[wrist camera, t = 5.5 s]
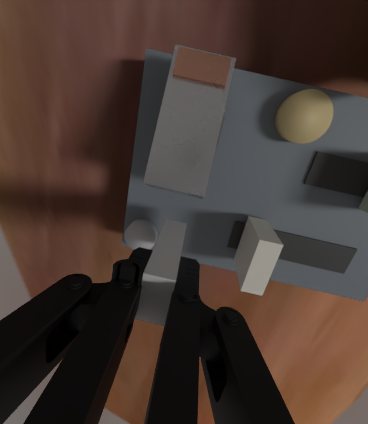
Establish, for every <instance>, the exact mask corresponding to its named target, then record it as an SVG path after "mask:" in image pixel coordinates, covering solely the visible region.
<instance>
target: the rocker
mask: <svg viewBox="0 0 368 424" xmlns="http://www.w3.org/2000/svg"><path fill="white" fill-rule="evenodd" d="M235 62H236V58H234V57H229V56H225V55H220V54H216V53H211V52H207V51H202V50H198V49H193V48H189V47H184V46H180V45H175V49H174V54H173V58H172V62H171V66H170V70H169V75H168V79H167V83H166V87H165V92H164V96H163V100H162V104H161V109H160V113H159V117H158V121H157V126H156V130H155V134H154V138H153V143H152V147H151V151H150V155H149V160H148V164H147V168H146V172H145V177H144V181H143V183H144V184H145V185H147V186H148V187H152V188H156V189H161V190H165V191H169V192H174V193H178V194H182V195H187V196H191V197H195V198H200V199H203V198H204V197H205V193H206V188H207V184H208V180H209V175H210V171H211V167H212V162H213V158H214V153H215V149H216V145H217V140H218V136H219V132H220V127H221V123H222V119H223V114H224V110H225V106H226V101H227V97H228V92H229V88H230V84H231V79H232V75H233V71H234V66H235Z"/></svg>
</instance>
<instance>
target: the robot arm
mask: <svg viewBox="0 0 368 424" xmlns="http://www.w3.org/2000/svg"><path fill="white" fill-rule="evenodd" d="M186 226H187V223H182V222H178V221H174V220H169V219H166V221H165V223H164V226H163V228H162V231H161V233H160V235H159V238H158V240H157V242H156V245H155V247H154V249H153V250H150V249H146V248H141V247H138V248H137V249H135V250H133V252H132V254H131V255H130V257H129V259H125V260H120V261H117V262H116V263H115V264H114V265H113V273H112V280H111V281H110V282H107V283H92V280H91V278H90V277H88V276H87V275H84V274H71V275H68V276H66V277H64V278H62V279H61V280H59V281H58V282H56V283H55V284H53V285H52V286H50V287H49V288H47V289H46V290H44V291H43V292H41V293H40V294H39V295H37V296H36V297H34V298H33V299H31V300H30V301H28V302H27V303H25V304H24V305H22V306H21V307H19V308H18V309H17V310H15V311H14V312H12V313H11V314H9V315H8V316H6V317H5V318H3V319H2V320H0V424H3V423H4V422H5V420H6V419H7V418H8V417H9V416H10V415H11V414H12V413H13V412H14V411H15V410H16V409H17V407H18V406H19V405H20V404H21V403H22V402H23V401H24V400H25V399H26V398H27V397H28V396H29V395H30V393H31V392H32V391H33V390H34V389H35V388H36V387H37V386H38V385H39V384H40V383H41V382H42V380H43V379H44V378H45V377H46V376H47V375H48V374H49V373H50V372H51V371H52V370H53V368H54V367H55V366H56V365H57V364H58V363H59V362H60V361H61V360H62V359H63V360H62V361H61V363H60V365H59V366H58V368H57V370H56V372H55V373H54V375H53V376H52V378H51V379H50V381H49V383H48V384H47V386H46V388H45V389H44V391H43V393H42V394H41V396H40V397H39V399H38V401H37V402H36V404H35V406H34V407H33V409H32V411H31V412H30V414H29V415H28V417H27V419H26V420H25V422H24V424H98V423H99V420H100V417H101V414H102V412H103V409H104V406H105V403H106V401H107V398H108V395H109V392H110V389H111V387H112V384H113V381H114V378H115V375H116V373H117V370H118V367H119V364H120V362H121V359H122V356H123V353H124V350H125V348H126V345H127V342H128V339H129V336H130V334H131V331H132V328H133V322H134V318H135V316H136V318H135V319H137V320H142V321H146V322H150V323H154V324H159V325H163V326H165V327H164V331H163V335H162V339H161V343H160V349H159V354H158V359H157V364H156V369H155V374H154V378H153V383H152V388H151V393H150V398H149V402H148V407H147V412H146V417H145V422H144V424H197V418H198V381H199V356H200V357H201V362H202V367H203V371H204V376H205V380H206V385H207V389H208V394H209V398H210V403H211V407H212V412H213V416H214V421H215V424H295V423H294V421H293V419H292V417H291V415H290V413H289V411H288V409H287V407H286V405H285V402H284V400H283V398H282V396H281V394H280V392H279V390H278V388H277V386H276V384H275V382H274V379H273V377H272V375H271V373H270V371H269V369H268V367H267V365H266V363H265V361H264V359H263V357H262V354H261V352H260V350H259V348H258V346H257V344H256V342H255V340H254V338H253V336H252V334H251V331H250V329H249V327H248V325H247V323H246V321H245V319H244V318H243V316H242V315H241V314H240V313H239V312H238V311H237V310H235V309H233V308H230V307H220V308H219V309H217V311H215V310H213V309H211V308H210V307H208V306H206V305H205V304H204V303H203V302H202V301H201V299H200V296H199V269H200V265H199V263H198V261H197V260H196V259H191V258H187V257H183V256H181V252H182V247H183V242H184V236H185V231H186Z"/></svg>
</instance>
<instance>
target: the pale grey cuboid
mask: <svg viewBox="0 0 368 424" xmlns="http://www.w3.org/2000/svg"><path fill="white" fill-rule="evenodd" d="M282 248H283V244H282V242H281V240H280V239H279V237H278V236H277V234H276V233H275V231H274V230H273V228H272V227H271V225H270V224H269V222H268V221H267V220H264V219H259V218H255V217H251V216H248V219H247V222H246V225H245V228H244V231H243V234H242V237H241V239H240V242H239V245H238V248H237V251H236V254H235V257H234V262H235V267H236V271H237V276H238V281H239V286H240V290H241V291H244V292H248V293H252V294H257V295H261V296H262V295H263V293H264V290H265V288H266V286H267V283H268V281H269V279H270V276H271V274H272V271H273V269H274V267H275V264H276V262H277V260H278V257H279V255H280V253H281V250H282Z"/></svg>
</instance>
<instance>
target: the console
mask: <svg viewBox="0 0 368 424" xmlns="http://www.w3.org/2000/svg"><path fill="white" fill-rule="evenodd" d="M172 58H173V54H168V53H164V52H160V51H155V50H151V49H146V55H145V63H144V71H143V79H142V87H141V95H140V103H139V111H138V118H137V126H136V134H135V142H134V150H133V158H132V166H131V174H130V182H129V190H128V198H127V206H126V214H125V222H124V230H123V238H122V245H123V246H127V247H130V248H131V249H133V250H135V249H137V248H138V247H141V248H146V249H150V250H153V249H154V247H155V245H156V242H157V240H158V238H159V235H160V233H161V231H162V228H163V226H164V223H165V221H166V219H169V220H174V221H178V222H182V223H187V226H186V231H185V236H184V242H183V247H182V252H181V256H183V257H187V258H191V259H196V260H197V261H198V263H200V264H205V265H209V266H213V267H218V268H222V269H226V270H230V271H235V272H237V271H236V267H235V262H234V257H235V254H236V251H237V248H238V245H239V242H240V239H241V237H242V234H243V231H244V228H245V225H246V222H247V219H248V216H251V217H255V218H259V219H264V220H267V221H268V222H269V224H270V225H271V227H272V228H273V230H274V231H275V233H276V234H277V236H278V237H279V239H280V240H281V242H282V244H283V248H282V250H281V253H280V255H279V257H278V260H277V262H276V264H275V267H274V269H273V271H272V274H271V276H270V279H269V280H273V281H278V282H282V283H286V284H291V285H295V286H299V287H304V288H308V289H312V290H316V291H321V292H325V293H329V294H334V295H338V296H342V297H347V298H351V299H355V300H359V301H365V299H366V298H367V296H368V213H366V212H364V211H363V210H361V209H359V206H360V204H361V202H362V200H363V198H364V197H365V195H366V193H367V191H368V98H365V97H360V96H356V95H351V94H347V93H342V92H338V91H334V90H329V89H325V88H320V87H316V86H311V85H307V84H302V83H298V82H293V81H289V80H284V79H280V78H276V77H271V76H267V75H262V74H258V73H253V72H249V71H244V70H240V69H235V68H234V71H233V75H232V79H231V84H230V88H229V92H228V97H227V101H226V106H225V110H224V114H223V119H222V123H221V127H220V132H219V136H218V140H217V145H216V149H215V153H214V158H213V162H212V167H211V171H210V175H209V180H208V184H207V188H206V193H205V197H204V198H203V199H200V198H195V197H191V196H187V195H182V194H178V193H174V192H169V191H165V190H161V189H156V188H152V187H148V186H147V185H145V184H144V183H143V181H144V177H145V172H146V168H147V164H148V160H149V155H150V151H151V147H152V143H153V138H154V134H155V130H156V126H157V121H158V117H159V113H160V109H161V104H162V100H163V96H164V92H165V87H166V83H167V79H168V75H169V70H170V66H171V62H172Z"/></svg>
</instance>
